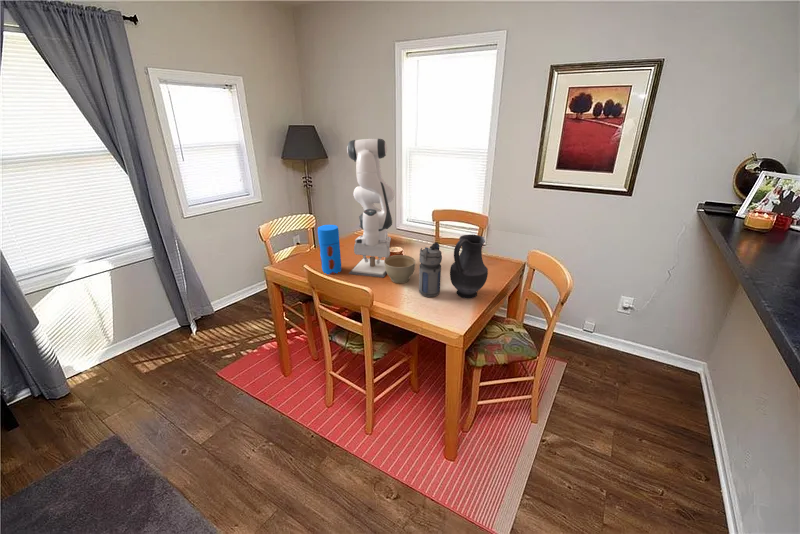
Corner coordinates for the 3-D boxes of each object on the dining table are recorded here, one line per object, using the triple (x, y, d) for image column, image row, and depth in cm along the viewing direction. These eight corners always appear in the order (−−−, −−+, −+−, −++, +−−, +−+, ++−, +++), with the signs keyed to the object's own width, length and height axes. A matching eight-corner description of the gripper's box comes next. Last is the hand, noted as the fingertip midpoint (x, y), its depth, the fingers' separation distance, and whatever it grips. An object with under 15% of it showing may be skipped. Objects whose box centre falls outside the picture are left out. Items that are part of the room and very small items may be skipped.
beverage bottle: (445, 289, 171) (447, 241, 161) (433, 300, 161) (435, 250, 151) (427, 284, 176) (428, 238, 166) (414, 295, 166) (415, 246, 155)
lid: (363, 259, 206) (363, 250, 203) (392, 262, 201) (392, 253, 199) (351, 271, 190) (351, 261, 187) (383, 275, 185) (382, 265, 183)
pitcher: (491, 293, 167) (498, 234, 155) (468, 310, 153) (474, 246, 141) (461, 282, 178) (465, 226, 165) (437, 297, 164) (439, 237, 151)
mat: (363, 258, 208) (363, 258, 208) (395, 262, 203) (395, 261, 203) (348, 273, 188) (348, 272, 188) (383, 277, 184) (383, 276, 183)
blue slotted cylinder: (322, 275, 187) (317, 231, 177) (321, 267, 196) (316, 225, 186) (342, 273, 190) (339, 229, 179) (340, 265, 199) (337, 223, 189)
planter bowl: (378, 282, 178) (378, 263, 174) (393, 271, 191) (393, 252, 187) (406, 289, 172) (406, 269, 167) (420, 276, 185) (420, 258, 180)
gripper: (391, 239, 189) (391, 262, 195) (356, 236, 194) (357, 258, 200) (387, 243, 184) (388, 266, 189) (352, 239, 189) (353, 263, 194)
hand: (372, 262), depth 194 cm, fingers open, 5 cm apart
